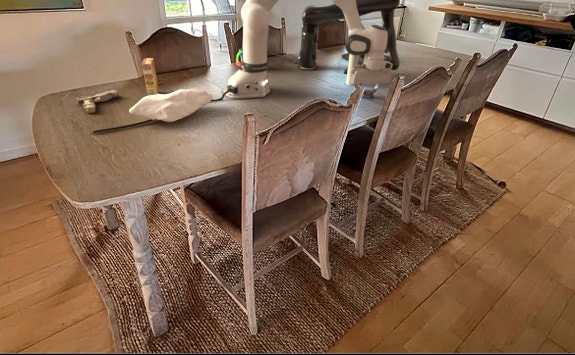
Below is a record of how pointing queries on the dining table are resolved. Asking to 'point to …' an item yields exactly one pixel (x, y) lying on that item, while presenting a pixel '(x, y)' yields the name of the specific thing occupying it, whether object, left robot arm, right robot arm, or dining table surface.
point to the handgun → (95, 100)
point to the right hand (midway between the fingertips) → (348, 73)
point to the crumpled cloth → (171, 104)
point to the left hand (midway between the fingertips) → (368, 92)
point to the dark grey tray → (361, 57)
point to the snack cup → (240, 55)
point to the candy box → (150, 76)
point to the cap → (368, 93)
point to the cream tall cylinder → (351, 67)
